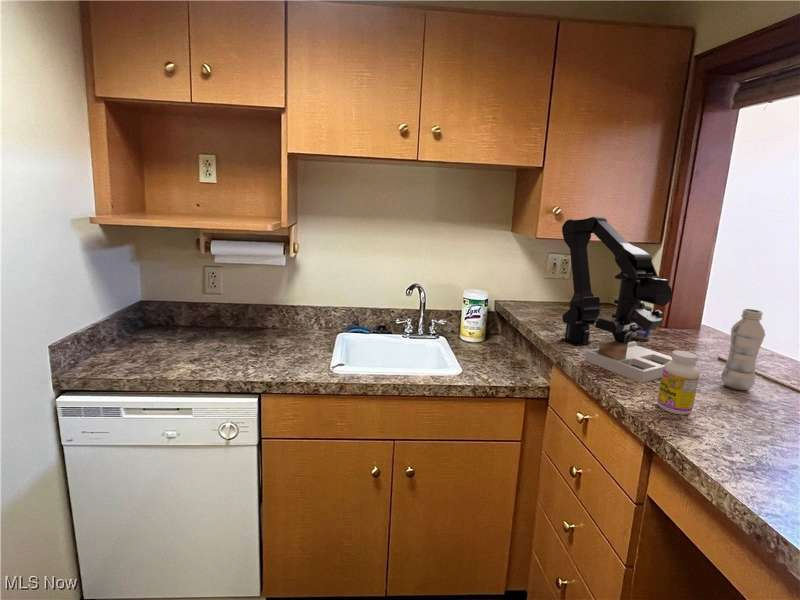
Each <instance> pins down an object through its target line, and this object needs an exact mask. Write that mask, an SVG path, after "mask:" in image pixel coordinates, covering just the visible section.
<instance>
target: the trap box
mask: <svg viewBox="0 0 800 600" xmlns="http://www.w3.org/2000/svg"><path fill="white" fill-rule="evenodd" d="M627 345H628V347H627V353H626V359H622V360H618V361H617V360H614V359H611V358H609V357H606V356H603V355H600V354H598V353H599V347H597V348H593V349H588V350H585V355H584V356H585V357H584V361H585V362H587V361H588V362H587V363H590V364H592V363H593V365H594V366H597V365H598V367H600V368H603V369H606V370H607V371H610V372H613V373H616V374H617V375H620V376H623V377H625V378H628V379H630V380H633V381H636V382H638V383H640V384H643V383H647V382H651V381H654V380H655V381H656V380H658V379H662V375H663V370H664V366H665V364H666V363H667V362H669V361H672V357H671V356H672V355H671V356H670V355H668V354H663V353H660V352H658V351H654V350H652V349H649V348H645V347H642V346H640V345H638V342H637V341H636V340H634V341H629V343H628V344H627Z"/></svg>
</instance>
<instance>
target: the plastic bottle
mask: <svg viewBox="0 0 800 600" xmlns="http://www.w3.org/2000/svg"><path fill="white" fill-rule="evenodd" d="M741 313H742V314H741V315H740V316H741V319H740V320H738V321H737V322H735V324H733V326H732V327H731V329H730V347H729V352H728V357H727V360H726V363H725V366H724V367H723V370H722V372H721V376H720V379H721V383H722V384H723V385H724V386H726V387H728V388H731V389H734V390H739V391H749V390H751V389H752V388H753V387H754V385H755V382H756V381H755V380H756V374H755V372H756V371H755V370H756V363H757V360H758V359H757V358H758V354H759V352H760V348H761V345H762V343H763V342H764V339H765V336H766V331H765V329H764V327H763V325H762V324H761V322H760V321H762V319H763V311H761V310H757V309H751V308H744V309H743V311H742V312H741Z"/></svg>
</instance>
